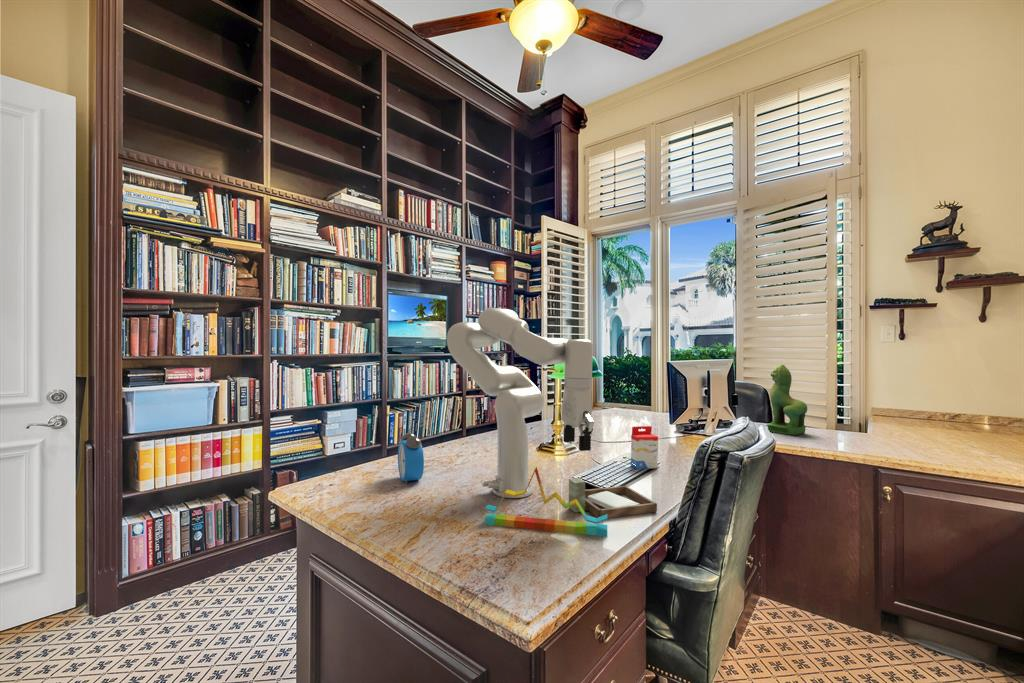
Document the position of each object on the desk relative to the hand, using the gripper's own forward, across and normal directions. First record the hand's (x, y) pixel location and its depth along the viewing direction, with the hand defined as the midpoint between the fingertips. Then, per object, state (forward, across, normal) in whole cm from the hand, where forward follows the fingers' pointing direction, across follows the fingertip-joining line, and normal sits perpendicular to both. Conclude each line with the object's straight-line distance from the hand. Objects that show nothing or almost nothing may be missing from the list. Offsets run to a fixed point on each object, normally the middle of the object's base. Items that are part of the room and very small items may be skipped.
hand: (576, 445), depth 124 cm
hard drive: (+18, 0, +12) cm, 21 cm away
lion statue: (+18, -64, +150) cm, 164 cm away
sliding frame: (+17, 0, +10) cm, 20 cm away
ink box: (+18, -30, +43) cm, 56 cm away
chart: (+18, +8, -12) cm, 24 cm away
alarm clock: (+19, -38, -41) cm, 59 cm away
